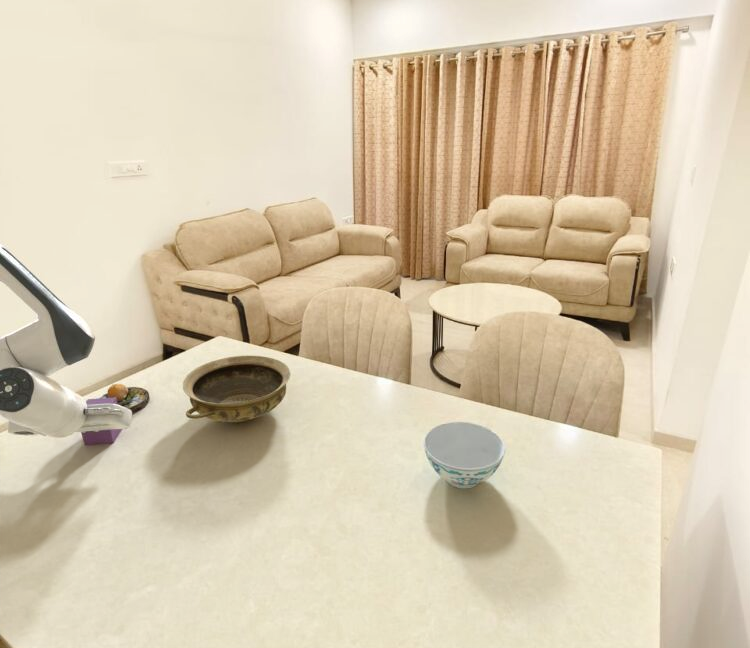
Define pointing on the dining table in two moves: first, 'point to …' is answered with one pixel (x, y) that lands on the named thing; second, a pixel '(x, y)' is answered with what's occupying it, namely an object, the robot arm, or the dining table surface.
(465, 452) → the chinaware
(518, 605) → the dining table surface
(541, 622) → the dining table surface
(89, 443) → the block
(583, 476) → the dining table surface
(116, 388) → the dark lid with knob
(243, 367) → the ceramic bowl
